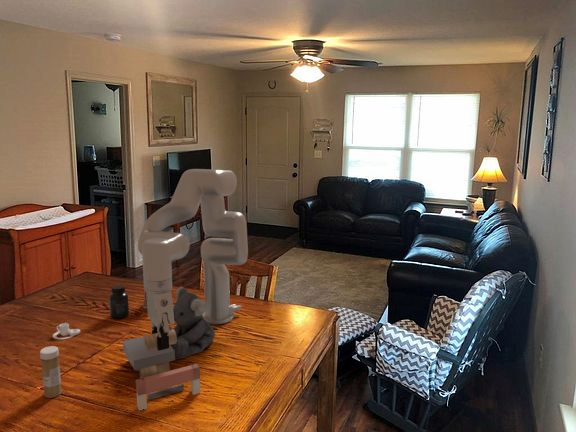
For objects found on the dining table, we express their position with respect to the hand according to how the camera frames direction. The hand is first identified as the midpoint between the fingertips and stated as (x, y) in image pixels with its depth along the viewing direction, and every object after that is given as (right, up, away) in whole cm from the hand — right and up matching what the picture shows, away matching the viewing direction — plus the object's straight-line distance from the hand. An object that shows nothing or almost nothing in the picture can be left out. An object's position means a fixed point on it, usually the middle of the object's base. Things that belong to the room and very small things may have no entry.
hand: (160, 345), depth 136 cm
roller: (0, 0, 0) cm, 0 cm away
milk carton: (-18, -1, +63) cm, 65 cm away
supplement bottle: (-29, -3, +51) cm, 59 cm away
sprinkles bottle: (-30, -14, -1) cm, 33 cm away
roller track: (-5, -11, +10) cm, 16 cm away
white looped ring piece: (-42, -7, +33) cm, 54 cm away
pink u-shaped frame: (+3, -14, -3) cm, 15 cm away
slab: (-7, -7, +13) cm, 16 cm away
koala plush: (+2, -8, +29) cm, 30 cm away
